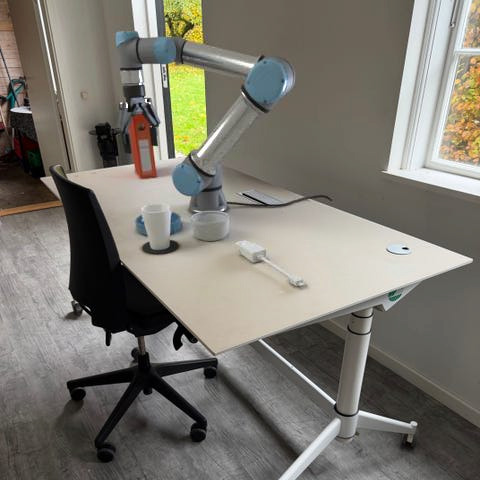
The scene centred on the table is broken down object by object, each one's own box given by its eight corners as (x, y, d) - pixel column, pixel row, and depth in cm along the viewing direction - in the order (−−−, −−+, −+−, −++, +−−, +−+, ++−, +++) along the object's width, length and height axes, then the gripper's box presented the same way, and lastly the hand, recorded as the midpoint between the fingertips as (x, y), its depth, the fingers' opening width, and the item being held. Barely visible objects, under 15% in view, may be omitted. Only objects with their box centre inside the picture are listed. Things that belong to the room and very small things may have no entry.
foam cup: (150, 253, 151) (145, 214, 144) (142, 244, 158) (136, 206, 151) (178, 247, 155) (174, 209, 148) (168, 238, 162) (164, 201, 155)
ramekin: (212, 226, 172) (211, 207, 169) (237, 235, 164) (237, 216, 161) (184, 236, 164) (183, 216, 161) (209, 246, 156) (208, 226, 153)
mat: (179, 239, 162) (179, 238, 162) (177, 253, 152) (177, 252, 151) (144, 241, 161) (144, 239, 161) (140, 255, 151) (140, 254, 151)
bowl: (182, 220, 178) (181, 210, 176) (180, 236, 165) (179, 225, 163) (139, 221, 178) (138, 212, 176) (133, 237, 164) (132, 227, 162)
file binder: (140, 179, 230) (131, 108, 213) (134, 170, 244) (125, 103, 227) (156, 177, 232) (148, 106, 215) (150, 169, 246) (142, 102, 229)
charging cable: (295, 292, 129) (296, 282, 127) (233, 250, 152) (233, 240, 150) (309, 288, 131) (310, 277, 130) (246, 246, 154) (247, 237, 152)
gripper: (150, 80, 170) (157, 142, 181) (97, 87, 152) (108, 155, 163) (166, 81, 166) (172, 143, 177) (113, 88, 149) (124, 157, 160)
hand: (141, 149), depth 170 cm, fingers open, 13 cm apart
